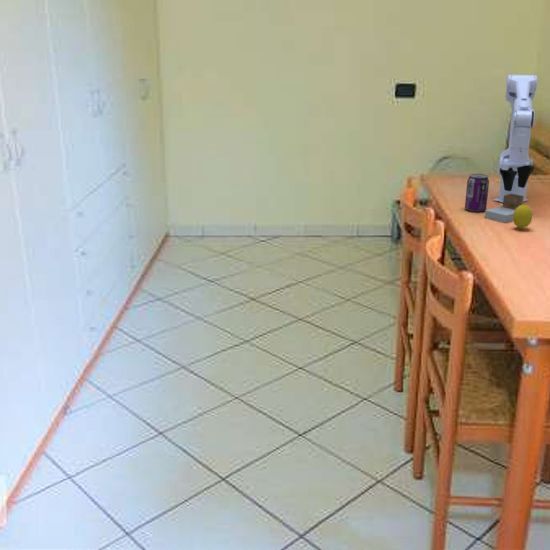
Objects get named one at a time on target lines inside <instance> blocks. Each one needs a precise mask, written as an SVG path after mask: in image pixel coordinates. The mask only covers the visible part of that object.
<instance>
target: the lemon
mask: <svg viewBox="0 0 550 550" xmlns="http://www.w3.org/2000/svg"><path fill="white" fill-rule="evenodd" d="M532 211H533V210H532V209H531V208H530V206H528V205H527V204H525V203H523V205H520V206H518V207H517V208H516V209H515V211H514V214H513V221H512V222H513V223H514V225H515V226H516V227H517V228H518V229H520V230H523V229H524V228H526V227H528V226H529V225H530V224H531V222H532V220H533V212H532Z"/></svg>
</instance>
